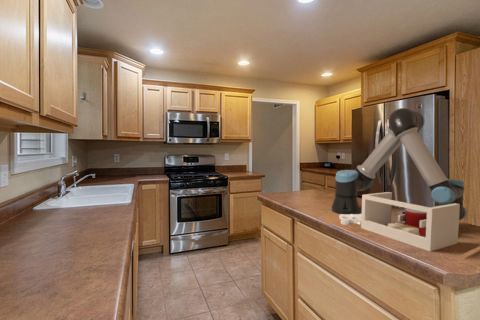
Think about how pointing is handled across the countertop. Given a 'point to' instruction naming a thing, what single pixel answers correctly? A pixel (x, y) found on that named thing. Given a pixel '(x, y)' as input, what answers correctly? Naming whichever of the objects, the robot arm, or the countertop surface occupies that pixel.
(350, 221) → the white brass knuckles
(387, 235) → the rack
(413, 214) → the canned food
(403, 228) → the offcut top
